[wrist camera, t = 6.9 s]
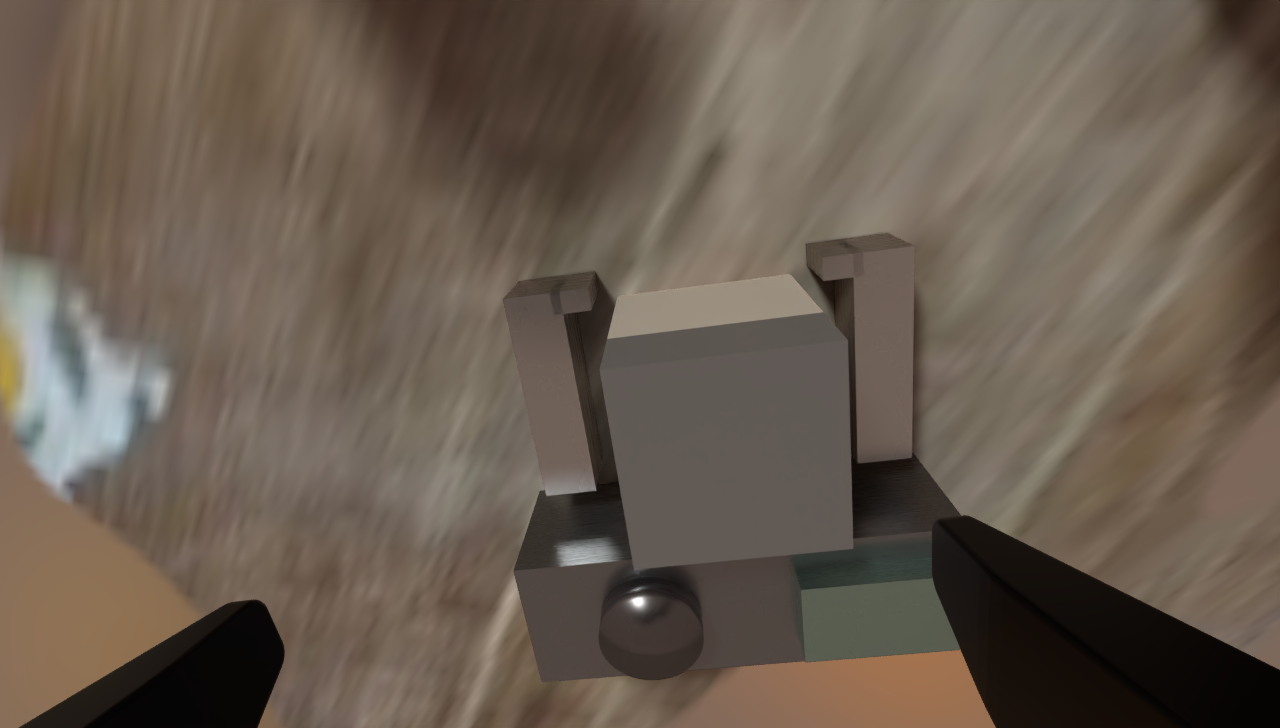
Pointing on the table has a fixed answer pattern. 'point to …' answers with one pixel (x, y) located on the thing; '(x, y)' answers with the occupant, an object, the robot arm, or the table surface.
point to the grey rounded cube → (729, 423)
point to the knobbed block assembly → (738, 589)
